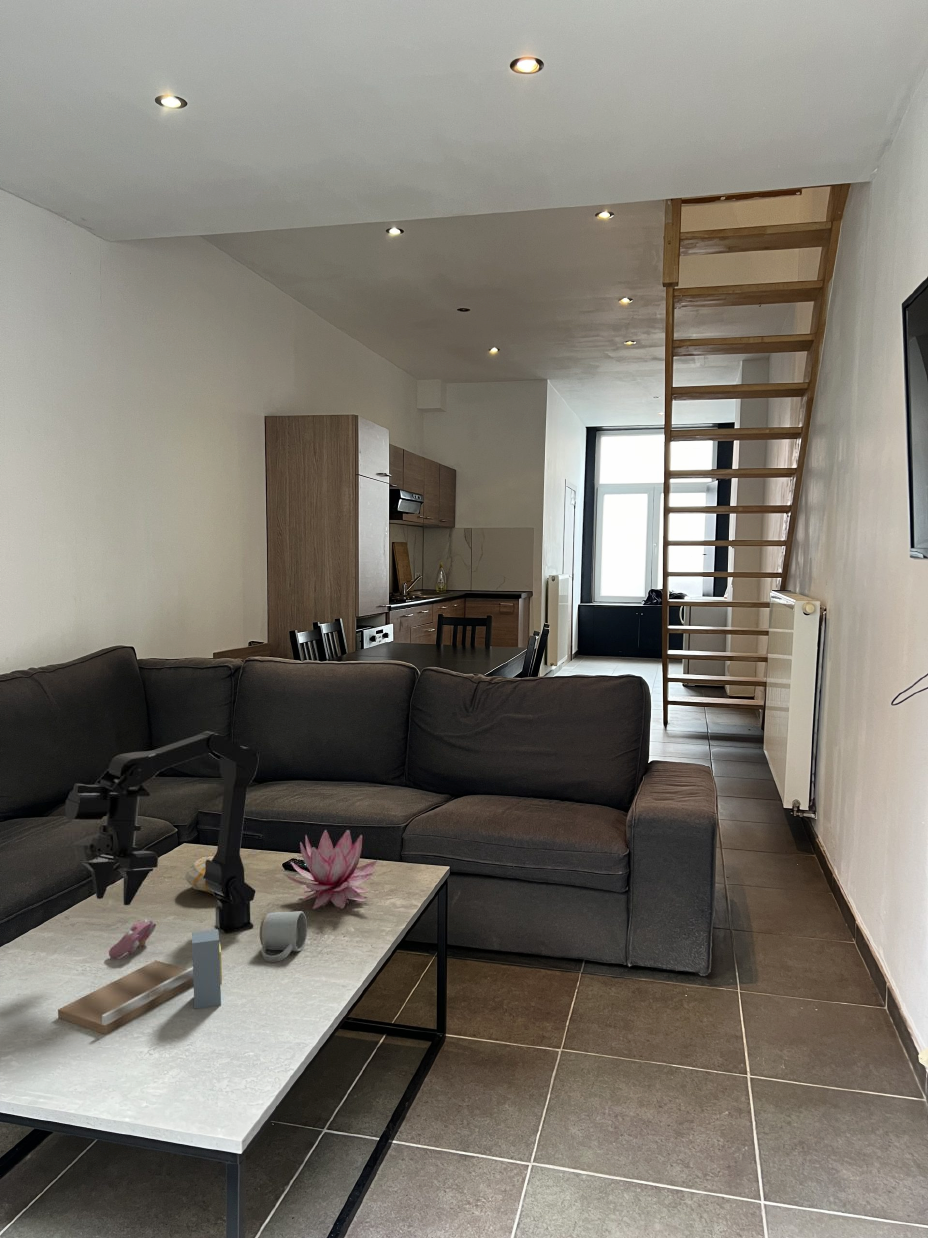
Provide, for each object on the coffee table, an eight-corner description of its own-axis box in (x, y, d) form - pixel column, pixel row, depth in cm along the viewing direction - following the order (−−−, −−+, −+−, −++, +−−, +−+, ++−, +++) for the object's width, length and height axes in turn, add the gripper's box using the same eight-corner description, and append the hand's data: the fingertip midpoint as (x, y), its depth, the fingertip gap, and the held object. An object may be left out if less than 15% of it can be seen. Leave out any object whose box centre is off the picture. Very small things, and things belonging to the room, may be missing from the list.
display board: (156, 967, 176) (155, 952, 176) (202, 981, 170) (201, 965, 170) (58, 1018, 157) (57, 1000, 157) (106, 1034, 151) (105, 1016, 151)
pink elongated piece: (124, 968, 180) (137, 939, 179) (105, 957, 180) (118, 927, 179) (150, 947, 189) (163, 919, 188) (132, 937, 190) (145, 909, 189)
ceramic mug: (270, 940, 189) (269, 904, 188) (308, 941, 188) (307, 906, 187) (252, 963, 178) (250, 925, 178) (292, 965, 177) (290, 927, 176)
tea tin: (194, 1009, 159) (192, 943, 159) (193, 996, 164) (191, 932, 163) (222, 1005, 161) (220, 939, 160) (221, 992, 165) (219, 929, 165)
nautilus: (200, 875, 231) (258, 877, 231) (174, 900, 210) (238, 902, 210) (201, 844, 231) (259, 846, 231) (175, 866, 210) (239, 869, 210)
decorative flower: (267, 904, 209) (265, 840, 208) (337, 879, 225) (335, 820, 224) (328, 927, 195) (326, 859, 194) (397, 898, 211) (396, 835, 210)
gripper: (57, 817, 175) (47, 899, 173) (111, 825, 164) (102, 913, 162) (109, 815, 184) (100, 894, 182) (163, 823, 173) (155, 907, 171)
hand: (113, 902), depth 174 cm, fingers open, 9 cm apart
